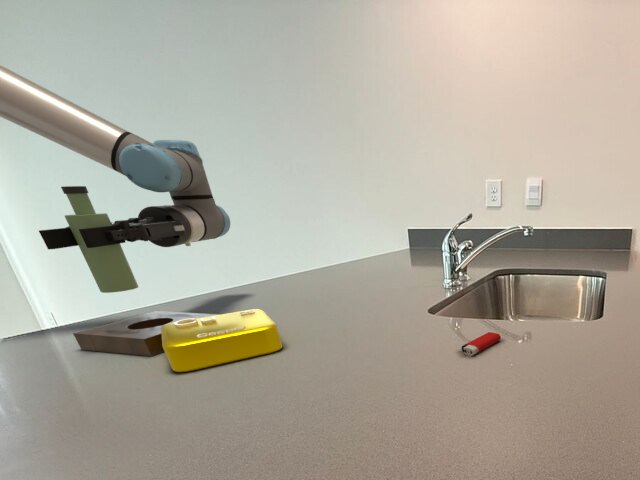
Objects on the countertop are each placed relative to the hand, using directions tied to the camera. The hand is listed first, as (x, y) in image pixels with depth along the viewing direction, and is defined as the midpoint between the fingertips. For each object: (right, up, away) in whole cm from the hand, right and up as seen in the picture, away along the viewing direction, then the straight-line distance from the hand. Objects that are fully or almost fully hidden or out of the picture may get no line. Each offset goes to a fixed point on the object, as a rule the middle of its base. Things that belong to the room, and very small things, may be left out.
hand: (66, 239), depth 62 cm
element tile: (+19, -16, +7) cm, 26 cm away
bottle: (0, -6, +9) cm, 10 cm away
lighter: (+63, -16, +5) cm, 65 cm away
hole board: (+3, -14, +13) cm, 19 cm away
